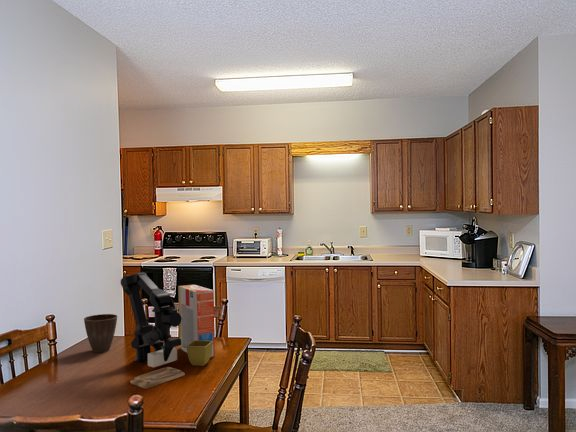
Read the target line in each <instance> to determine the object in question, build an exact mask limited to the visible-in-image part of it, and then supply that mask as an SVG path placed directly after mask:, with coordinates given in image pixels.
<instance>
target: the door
mask: <svg viewBox="0 0 576 432" xmlns="http://www.w3.org/2000/svg"><path fill="white" fill-rule="evenodd" d="M175 361H178V348H177V347H173V349H172V351H171V353H170V355H169V358H168V360H167V361H164V353H163V349H162V350H158V351H155V350H154V351H153V352H152V351H151V353H148V362H147V366H148V367H150V368H156V367H160V366H163V365H167V364H169V363H172V362H175Z"/></svg>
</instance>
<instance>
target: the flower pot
mask: <svg viewBox="0 0 576 432" xmlns="http://www.w3.org/2000/svg"><path fill="white" fill-rule="evenodd" d="M212 344H213V341H198V340H195V341H193V342H192V343H190V344H189V345H187V353H186V354H187V357H188V361H189V362H190V364H191V366H199V367H204V366H205V365H206V364H208V362H210V359H211V358H210V356H211V353H212Z"/></svg>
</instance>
